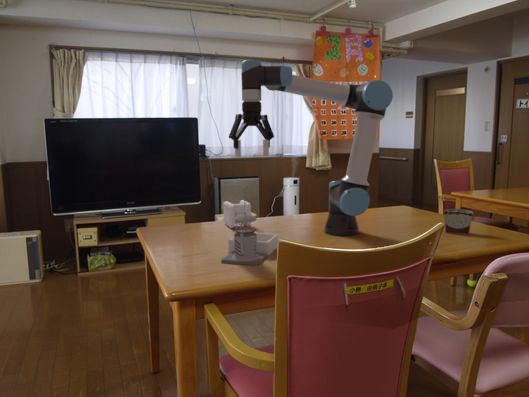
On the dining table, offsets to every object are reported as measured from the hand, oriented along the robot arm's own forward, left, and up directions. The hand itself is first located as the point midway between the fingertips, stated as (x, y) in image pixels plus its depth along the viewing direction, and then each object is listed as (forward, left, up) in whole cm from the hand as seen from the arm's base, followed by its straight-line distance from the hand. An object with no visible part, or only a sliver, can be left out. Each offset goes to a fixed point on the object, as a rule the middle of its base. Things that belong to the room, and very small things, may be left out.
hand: (252, 156), depth 168 cm
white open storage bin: (-4, +11, -35) cm, 37 cm away
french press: (-5, +24, -34) cm, 42 cm away
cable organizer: (+18, -28, -35) cm, 48 cm away
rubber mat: (-5, +24, -35) cm, 43 cm away
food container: (-81, -41, -35) cm, 97 cm away
